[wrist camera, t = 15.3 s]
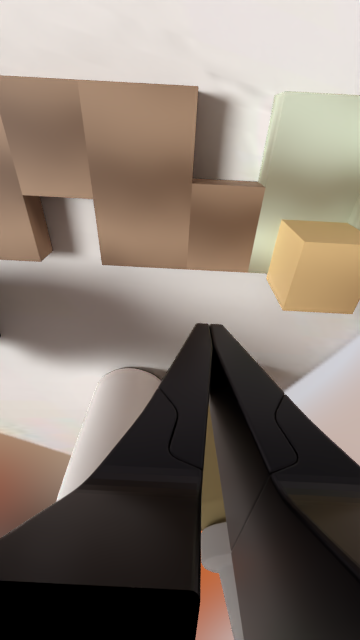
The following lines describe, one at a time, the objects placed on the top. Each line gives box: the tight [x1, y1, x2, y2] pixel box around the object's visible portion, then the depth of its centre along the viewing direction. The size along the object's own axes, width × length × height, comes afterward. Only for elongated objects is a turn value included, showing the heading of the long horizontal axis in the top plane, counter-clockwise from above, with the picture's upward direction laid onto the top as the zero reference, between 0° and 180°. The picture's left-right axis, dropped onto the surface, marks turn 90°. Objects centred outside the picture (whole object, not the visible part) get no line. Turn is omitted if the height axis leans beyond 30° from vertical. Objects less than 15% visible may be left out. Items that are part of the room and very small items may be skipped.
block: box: [266, 219, 360, 314], centre depth 16 cm, size 4×4×4 cm
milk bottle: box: [56, 368, 161, 502], centre depth 21 cm, size 8×8×20 cm
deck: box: [0, 75, 360, 274], centre depth 16 cm, size 10×27×3 cm, turn 87°
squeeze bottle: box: [201, 407, 244, 640], centre depth 21 cm, size 8×8×18 cm
